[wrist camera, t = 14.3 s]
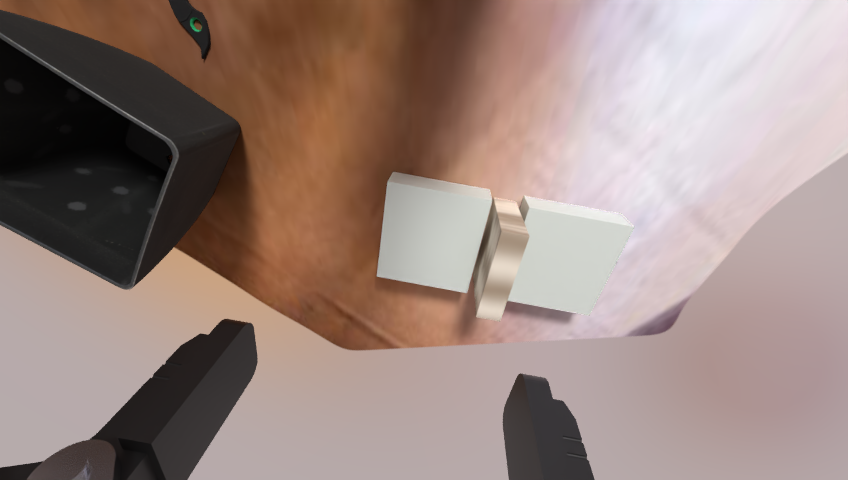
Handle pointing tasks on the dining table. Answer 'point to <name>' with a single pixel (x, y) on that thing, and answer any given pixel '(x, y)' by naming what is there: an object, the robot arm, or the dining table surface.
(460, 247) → the slotted board
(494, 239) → the beige metallic bar
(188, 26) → the knife
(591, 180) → the dining table surface
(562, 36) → the dining table surface
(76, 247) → the flower pot
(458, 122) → the dining table surface
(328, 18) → the dining table surface
